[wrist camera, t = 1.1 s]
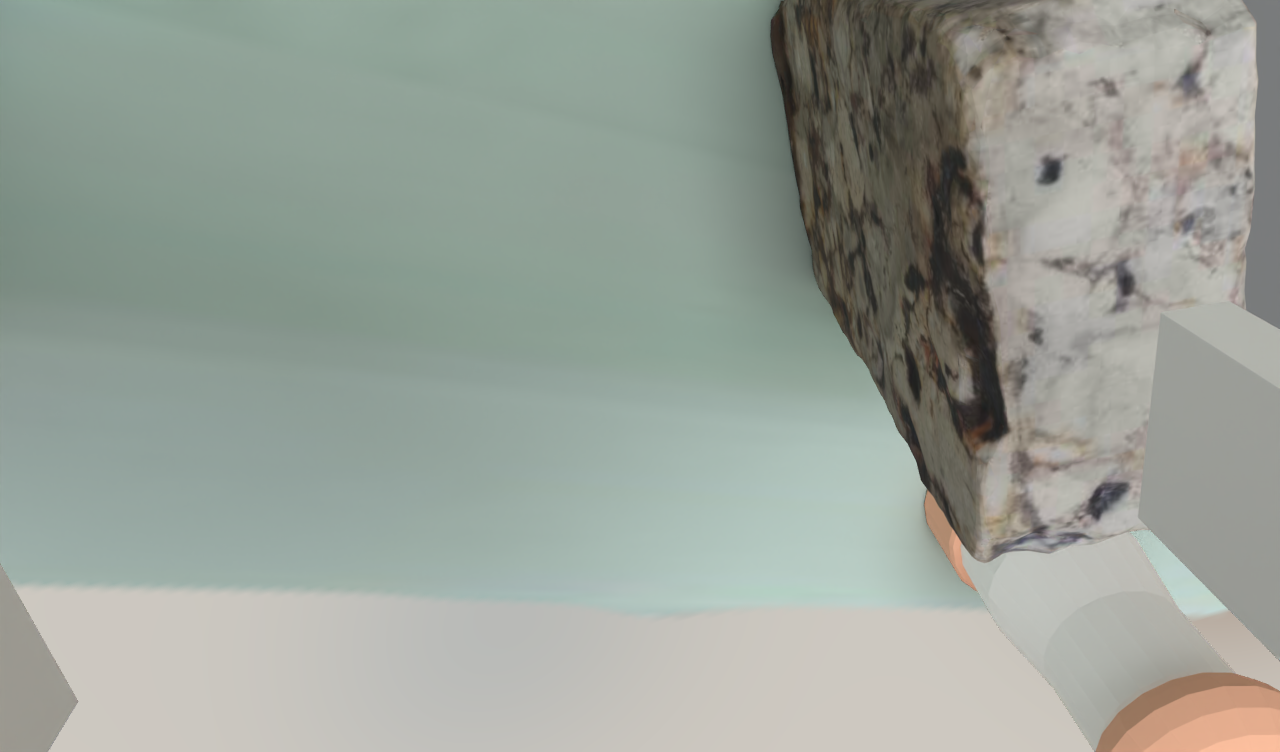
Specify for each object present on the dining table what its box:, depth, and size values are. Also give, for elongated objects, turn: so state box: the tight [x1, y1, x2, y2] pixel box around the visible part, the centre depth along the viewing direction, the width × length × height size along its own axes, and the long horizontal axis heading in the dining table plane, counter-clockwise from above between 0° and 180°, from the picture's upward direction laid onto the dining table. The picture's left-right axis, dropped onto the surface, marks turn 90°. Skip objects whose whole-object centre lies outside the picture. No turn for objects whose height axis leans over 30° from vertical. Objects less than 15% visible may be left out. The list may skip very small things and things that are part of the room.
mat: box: [1243, 0, 1280, 329], centre depth 37 cm, size 18×22×1 cm
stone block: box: [771, 0, 1258, 563], centre depth 28 cm, size 13×7×20 cm, turn 18°
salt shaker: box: [924, 490, 1280, 752], centre depth 37 cm, size 7×7×19 cm
